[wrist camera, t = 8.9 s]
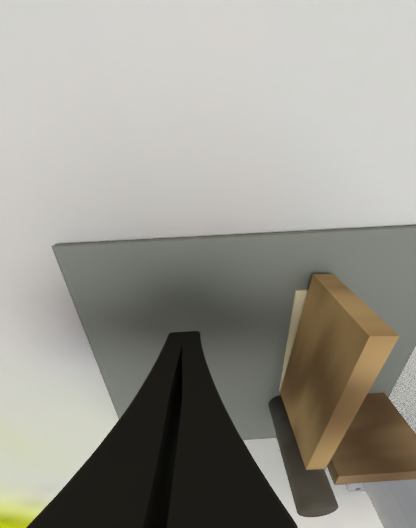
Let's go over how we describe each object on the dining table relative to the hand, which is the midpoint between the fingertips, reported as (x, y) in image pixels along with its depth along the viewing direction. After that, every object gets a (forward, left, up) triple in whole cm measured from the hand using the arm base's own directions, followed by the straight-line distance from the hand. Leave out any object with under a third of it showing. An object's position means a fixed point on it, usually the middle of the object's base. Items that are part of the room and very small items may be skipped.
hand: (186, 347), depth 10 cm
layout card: (-4, +4, -2) cm, 6 cm away
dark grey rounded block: (-9, +8, -2) cm, 12 cm away
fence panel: (-6, +2, -2) cm, 7 cm away
